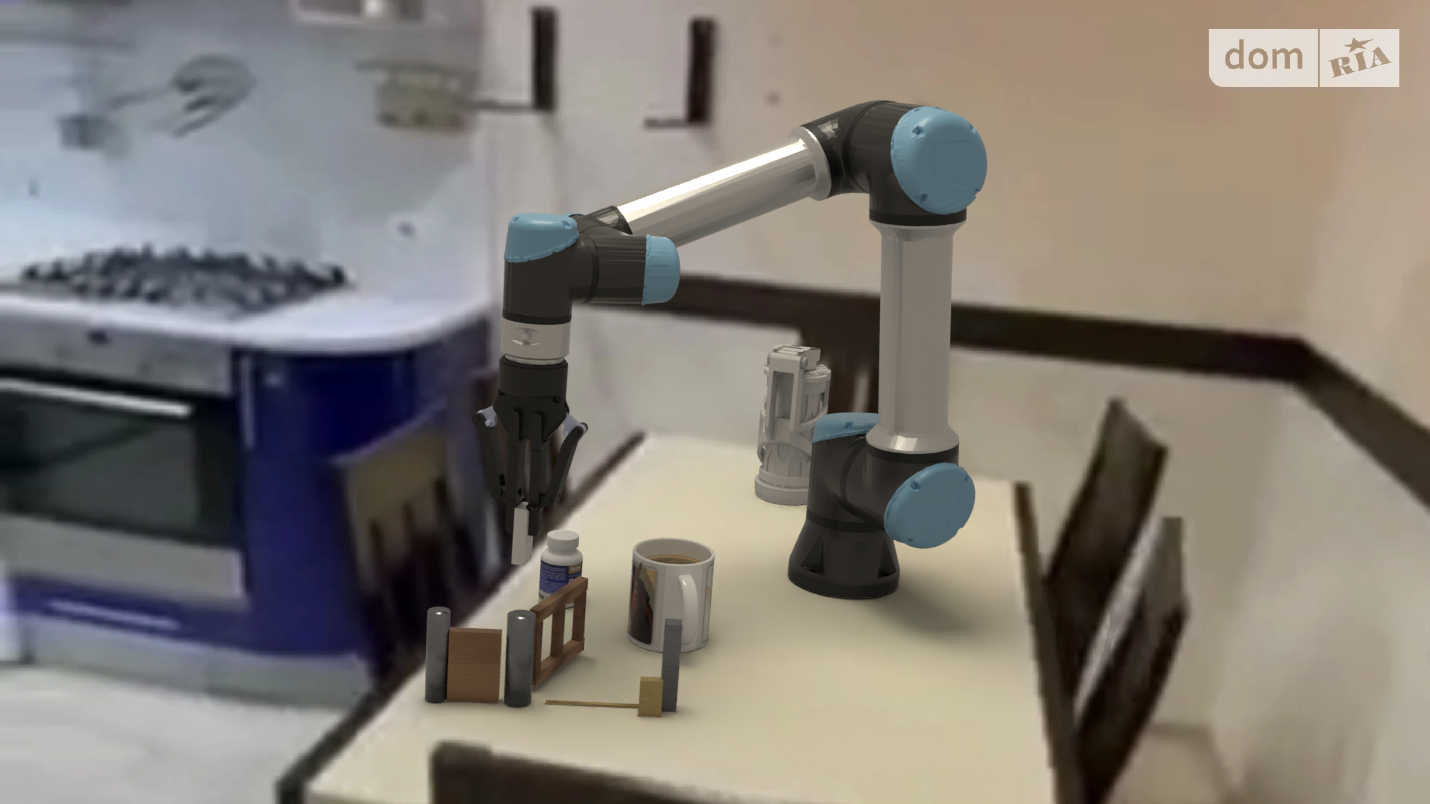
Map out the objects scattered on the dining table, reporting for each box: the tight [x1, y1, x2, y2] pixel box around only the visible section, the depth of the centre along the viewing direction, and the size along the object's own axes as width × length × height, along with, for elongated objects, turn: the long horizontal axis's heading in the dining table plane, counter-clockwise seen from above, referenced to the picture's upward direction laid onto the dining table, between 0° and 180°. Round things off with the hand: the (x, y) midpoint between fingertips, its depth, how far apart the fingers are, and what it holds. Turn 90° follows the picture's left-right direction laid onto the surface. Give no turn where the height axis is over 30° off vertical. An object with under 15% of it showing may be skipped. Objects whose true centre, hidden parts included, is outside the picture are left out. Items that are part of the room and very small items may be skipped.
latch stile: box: [637, 618, 683, 718], centre depth 170 cm, size 4×3×10 cm
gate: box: [529, 576, 589, 688], centre depth 178 cm, size 12×1×9 cm, turn 159°
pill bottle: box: [538, 529, 584, 609], centre depth 199 cm, size 5×5×9 cm
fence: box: [424, 606, 639, 709], centre depth 170 cm, size 25×3×10 cm, turn 94°
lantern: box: [754, 343, 832, 506], centre depth 247 cm, size 13×10×25 cm
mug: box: [626, 537, 716, 653], centre depth 189 cm, size 10×12×11 cm
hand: (521, 560), depth 178 cm, fingers closed
